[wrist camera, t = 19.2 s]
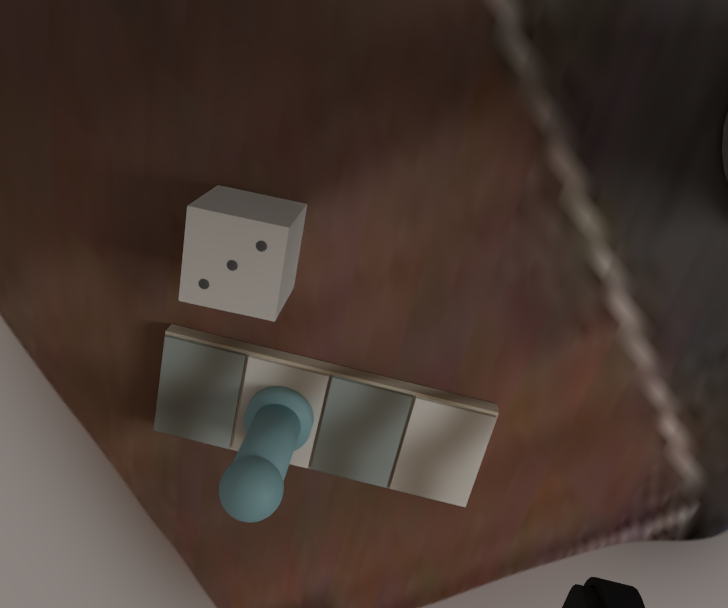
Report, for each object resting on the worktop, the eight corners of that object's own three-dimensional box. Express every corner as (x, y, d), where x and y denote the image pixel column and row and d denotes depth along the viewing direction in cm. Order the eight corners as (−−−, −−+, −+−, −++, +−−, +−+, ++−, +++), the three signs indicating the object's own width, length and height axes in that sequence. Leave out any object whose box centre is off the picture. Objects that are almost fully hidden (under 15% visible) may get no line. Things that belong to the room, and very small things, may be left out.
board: (497, 404, 40) (499, 415, 38) (464, 496, 42) (465, 510, 41) (171, 324, 40) (163, 333, 39) (159, 421, 42) (151, 432, 41)
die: (307, 203, 36) (288, 228, 32) (293, 289, 38) (273, 324, 34) (216, 184, 36) (184, 205, 32) (207, 270, 38) (175, 302, 34)
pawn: (319, 395, 39) (291, 486, 31) (306, 450, 41) (276, 551, 33) (253, 379, 39) (208, 466, 31) (243, 435, 41) (197, 531, 33)
